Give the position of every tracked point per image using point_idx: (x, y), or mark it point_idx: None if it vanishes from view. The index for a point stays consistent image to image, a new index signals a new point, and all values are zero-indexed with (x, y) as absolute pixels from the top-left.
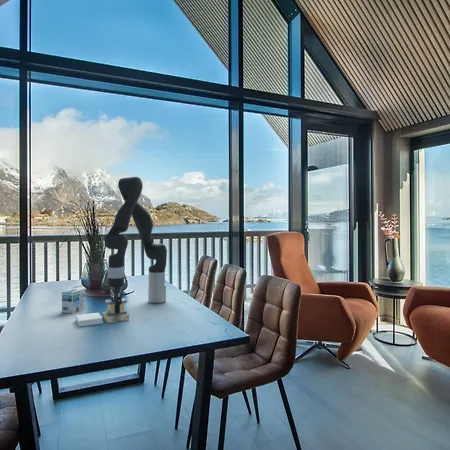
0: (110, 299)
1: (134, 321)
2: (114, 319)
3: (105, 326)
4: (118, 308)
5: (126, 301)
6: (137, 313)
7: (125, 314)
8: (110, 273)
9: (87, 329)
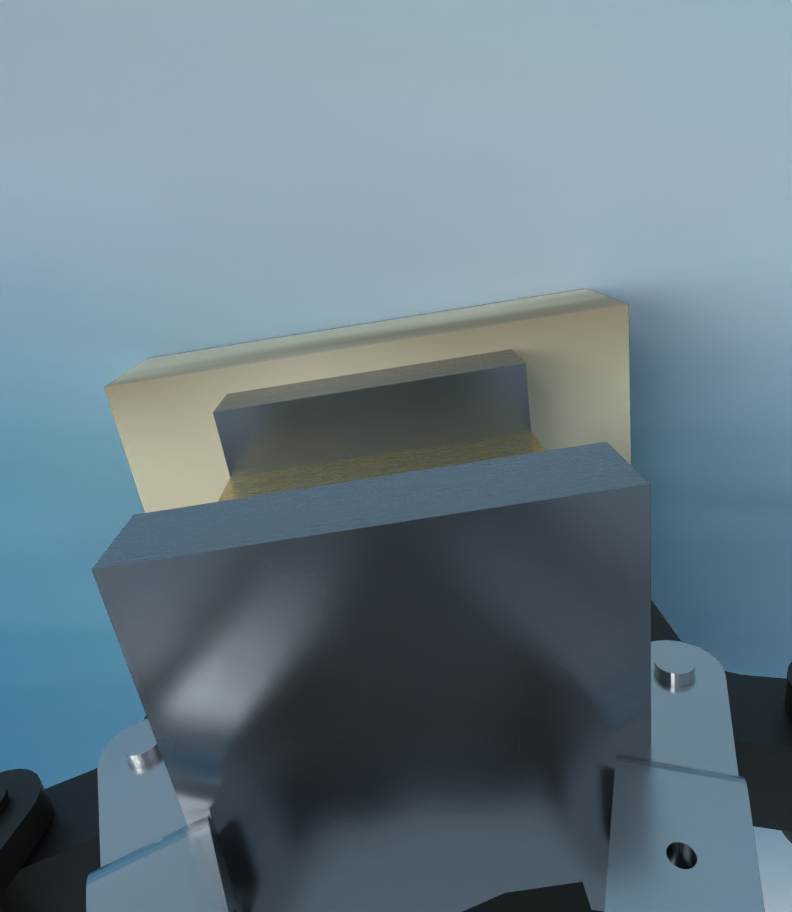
0: None
1: (727, 179)
2: None
3: (768, 668)
4: (656, 626)
5: (628, 479)
6: (72, 9)
7: (562, 382)
8: None
9: (779, 848)
